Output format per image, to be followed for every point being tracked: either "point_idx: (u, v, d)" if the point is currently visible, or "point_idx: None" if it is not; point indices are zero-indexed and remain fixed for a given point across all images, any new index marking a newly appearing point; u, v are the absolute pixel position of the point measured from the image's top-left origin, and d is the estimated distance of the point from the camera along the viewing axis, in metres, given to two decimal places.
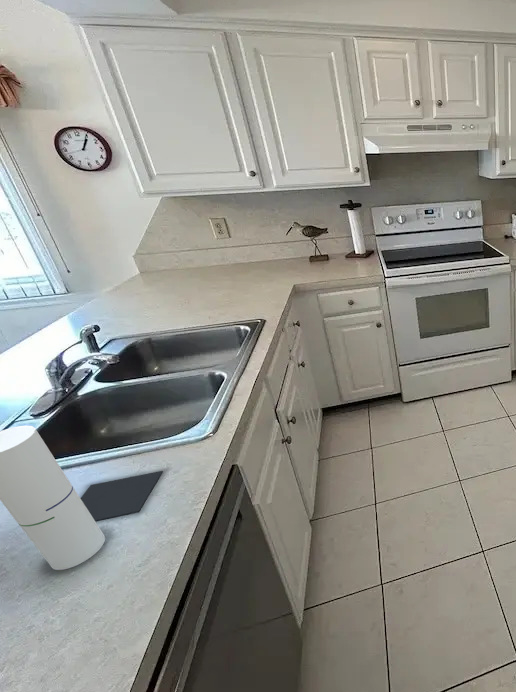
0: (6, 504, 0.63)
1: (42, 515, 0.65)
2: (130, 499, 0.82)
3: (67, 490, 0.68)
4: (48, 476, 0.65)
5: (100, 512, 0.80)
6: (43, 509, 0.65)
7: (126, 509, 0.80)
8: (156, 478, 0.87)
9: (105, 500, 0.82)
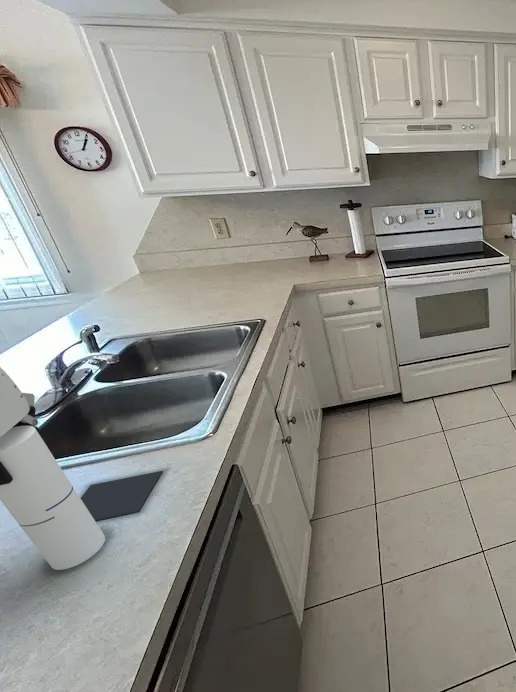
0: (6, 504, 0.63)
1: (42, 515, 0.65)
2: (130, 499, 0.82)
3: (67, 490, 0.68)
4: (48, 476, 0.65)
5: (100, 512, 0.80)
6: (43, 509, 0.65)
7: (126, 509, 0.80)
8: (156, 478, 0.87)
9: (105, 500, 0.82)
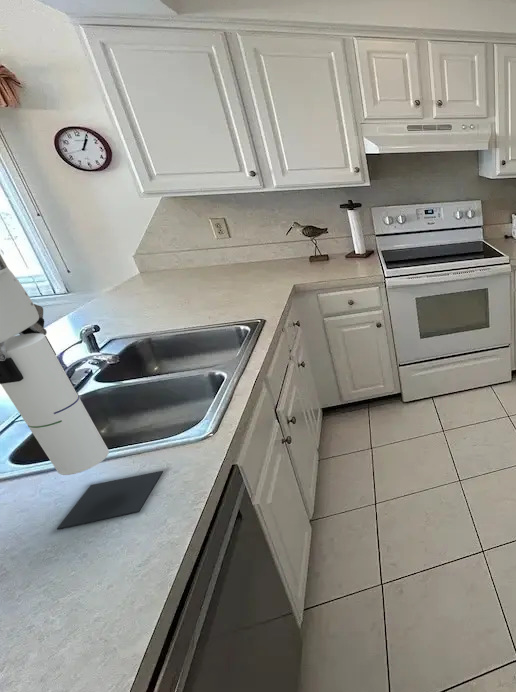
0: (17, 404, 0.67)
1: (50, 417, 0.69)
2: (130, 499, 0.82)
3: (74, 398, 0.72)
4: (56, 380, 0.69)
5: (100, 512, 0.80)
6: (51, 411, 0.69)
7: (126, 509, 0.80)
8: (156, 478, 0.87)
9: (105, 500, 0.82)
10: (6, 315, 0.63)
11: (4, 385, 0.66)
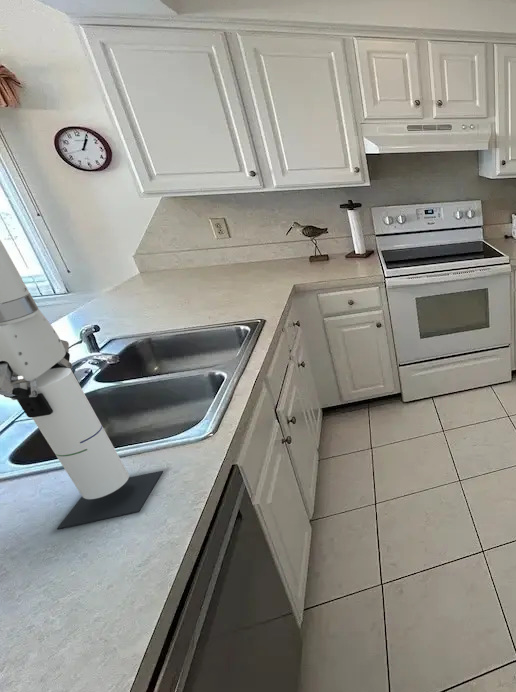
0: (46, 435, 0.72)
1: (77, 446, 0.74)
2: (130, 499, 0.82)
3: (97, 427, 0.77)
4: (82, 412, 0.74)
5: (100, 512, 0.80)
6: (78, 441, 0.74)
7: (126, 509, 0.80)
8: (156, 478, 0.87)
9: (105, 500, 0.82)
10: (38, 354, 0.68)
11: (35, 418, 0.70)
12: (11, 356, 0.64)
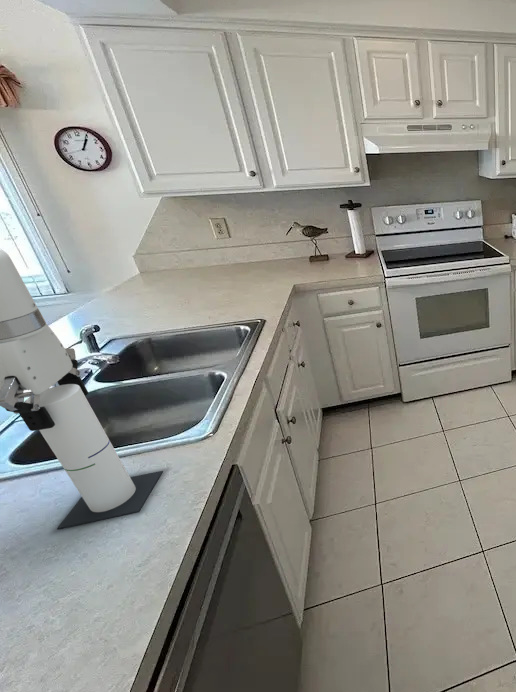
0: (55, 450, 0.73)
1: (85, 461, 0.75)
2: (130, 499, 0.82)
3: (105, 441, 0.78)
4: (90, 427, 0.75)
5: (100, 512, 0.80)
6: (86, 456, 0.75)
7: (126, 509, 0.80)
8: (156, 478, 0.87)
9: None
10: (46, 368, 0.69)
11: (44, 434, 0.72)
12: (20, 371, 0.65)
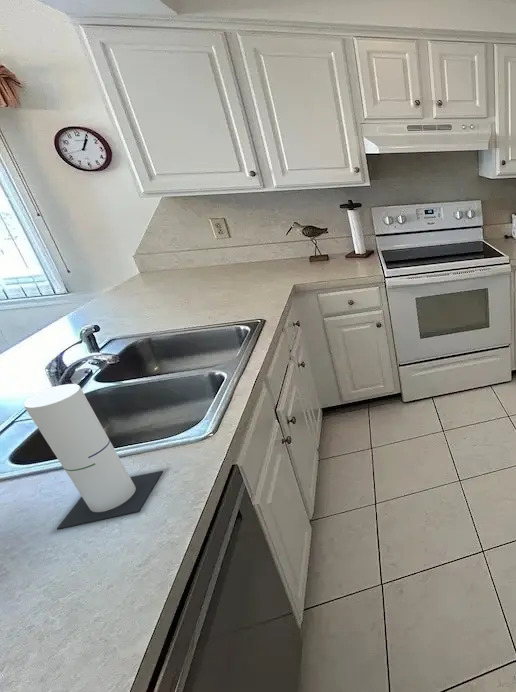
0: (55, 450, 0.73)
1: (85, 461, 0.75)
2: (130, 499, 0.82)
3: (105, 441, 0.78)
4: (90, 427, 0.75)
5: (100, 512, 0.80)
6: (86, 456, 0.75)
7: (126, 509, 0.80)
8: (156, 478, 0.87)
9: None
10: None
11: (44, 434, 0.72)
12: None
